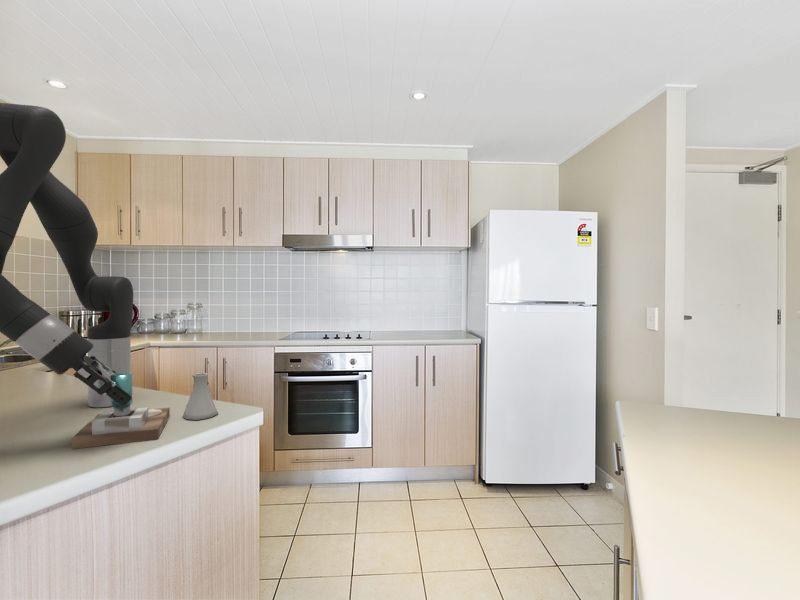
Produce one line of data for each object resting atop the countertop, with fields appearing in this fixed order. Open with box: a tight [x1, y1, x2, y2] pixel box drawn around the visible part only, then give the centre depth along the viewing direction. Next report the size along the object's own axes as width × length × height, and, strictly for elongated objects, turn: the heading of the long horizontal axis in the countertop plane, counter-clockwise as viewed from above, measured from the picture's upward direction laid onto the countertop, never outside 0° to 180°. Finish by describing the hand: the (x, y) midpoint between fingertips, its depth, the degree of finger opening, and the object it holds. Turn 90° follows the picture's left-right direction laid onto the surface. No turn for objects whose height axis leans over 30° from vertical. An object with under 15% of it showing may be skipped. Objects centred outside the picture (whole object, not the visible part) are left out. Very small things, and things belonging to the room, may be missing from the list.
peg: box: [110, 372, 133, 418], centre depth 84 cm, size 4×4×10 cm
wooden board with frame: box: [71, 406, 171, 450], centre depth 88 cm, size 17×14×4 cm
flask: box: [182, 372, 219, 421], centre depth 99 cm, size 7×7×10 cm
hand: (128, 397), depth 85 cm, fingers open, 8 cm apart
